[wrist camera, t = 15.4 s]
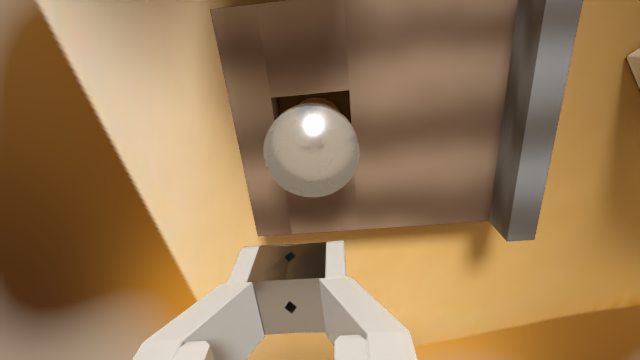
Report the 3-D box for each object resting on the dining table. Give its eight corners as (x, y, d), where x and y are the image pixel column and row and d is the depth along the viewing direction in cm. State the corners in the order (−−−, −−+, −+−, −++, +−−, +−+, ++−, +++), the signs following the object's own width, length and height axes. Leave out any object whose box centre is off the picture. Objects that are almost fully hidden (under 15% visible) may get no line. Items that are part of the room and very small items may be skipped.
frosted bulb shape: (276, 90, 26) (255, 110, 19) (349, 83, 26) (356, 101, 18) (287, 159, 29) (271, 200, 21) (353, 153, 28) (361, 193, 21)
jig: (224, 12, 24) (191, 4, 18) (527, -23, 22) (591, -44, 17) (264, 219, 31) (250, 257, 26) (496, 202, 30) (534, 239, 24)
